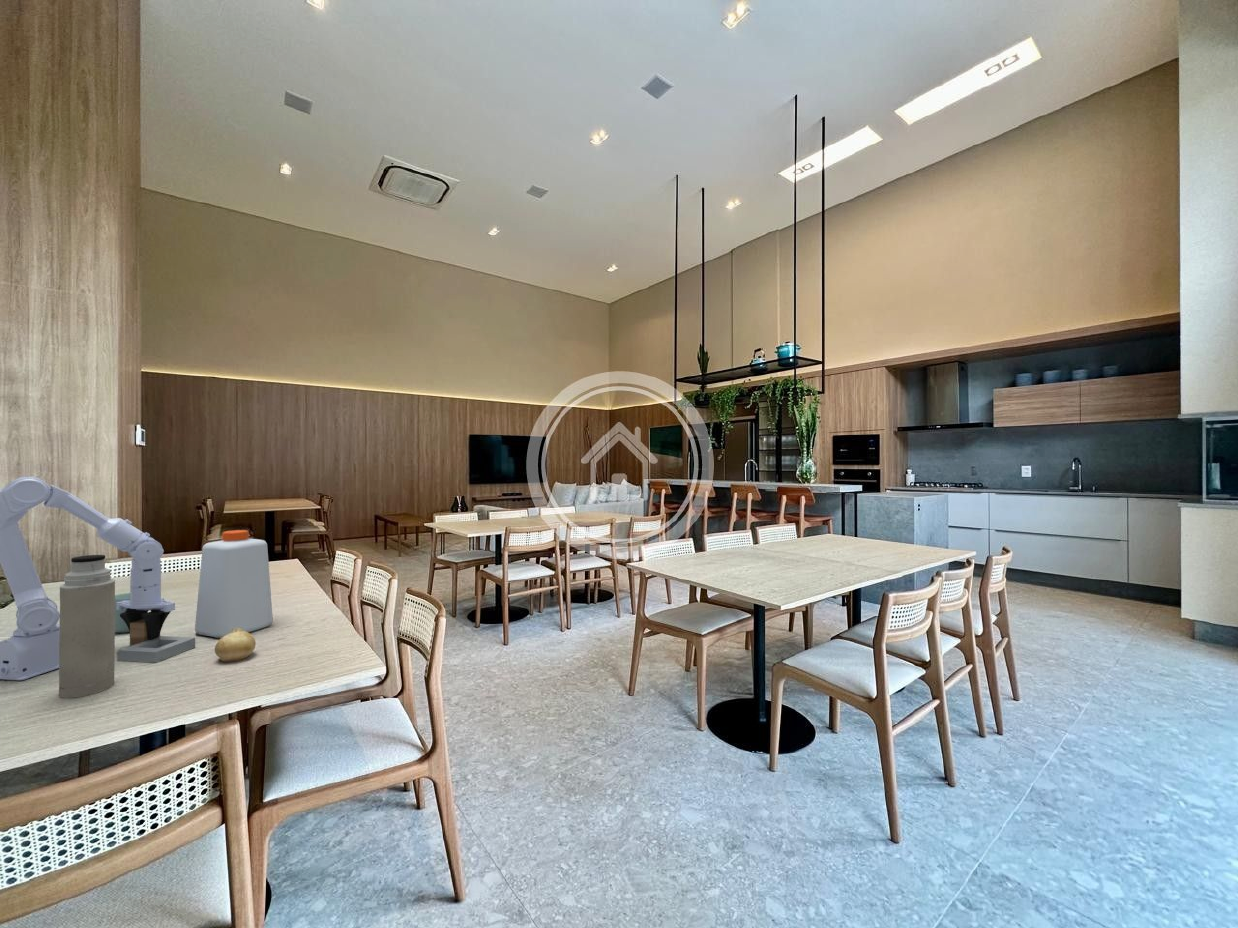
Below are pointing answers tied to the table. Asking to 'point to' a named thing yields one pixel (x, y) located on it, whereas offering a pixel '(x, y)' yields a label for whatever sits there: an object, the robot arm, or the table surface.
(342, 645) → the table surface
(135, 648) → the grey flat square frame
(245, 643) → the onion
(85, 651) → the thermos bottle
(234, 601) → the plastic bottle
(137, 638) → the wooden rectangular block
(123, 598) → the cup
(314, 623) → the table surface
